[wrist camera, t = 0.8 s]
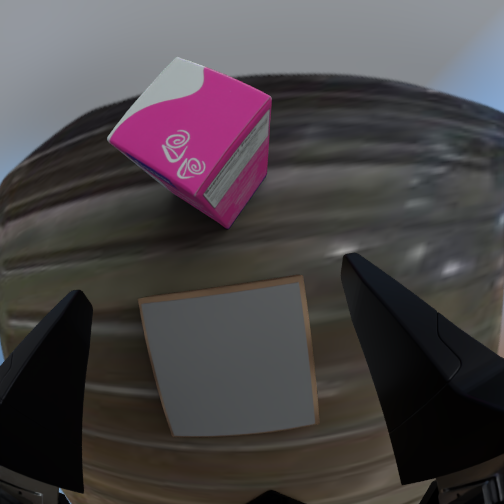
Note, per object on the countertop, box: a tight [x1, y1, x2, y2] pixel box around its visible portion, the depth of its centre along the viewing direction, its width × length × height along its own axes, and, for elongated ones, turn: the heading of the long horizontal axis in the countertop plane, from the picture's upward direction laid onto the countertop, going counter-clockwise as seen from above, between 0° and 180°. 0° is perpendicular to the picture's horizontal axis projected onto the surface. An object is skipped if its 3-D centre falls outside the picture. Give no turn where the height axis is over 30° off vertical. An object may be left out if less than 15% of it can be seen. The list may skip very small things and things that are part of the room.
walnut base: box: [138, 275, 320, 437], centre depth 19 cm, size 12×12×3 cm
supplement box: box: [107, 57, 271, 229], centre depth 16 cm, size 6×6×12 cm
